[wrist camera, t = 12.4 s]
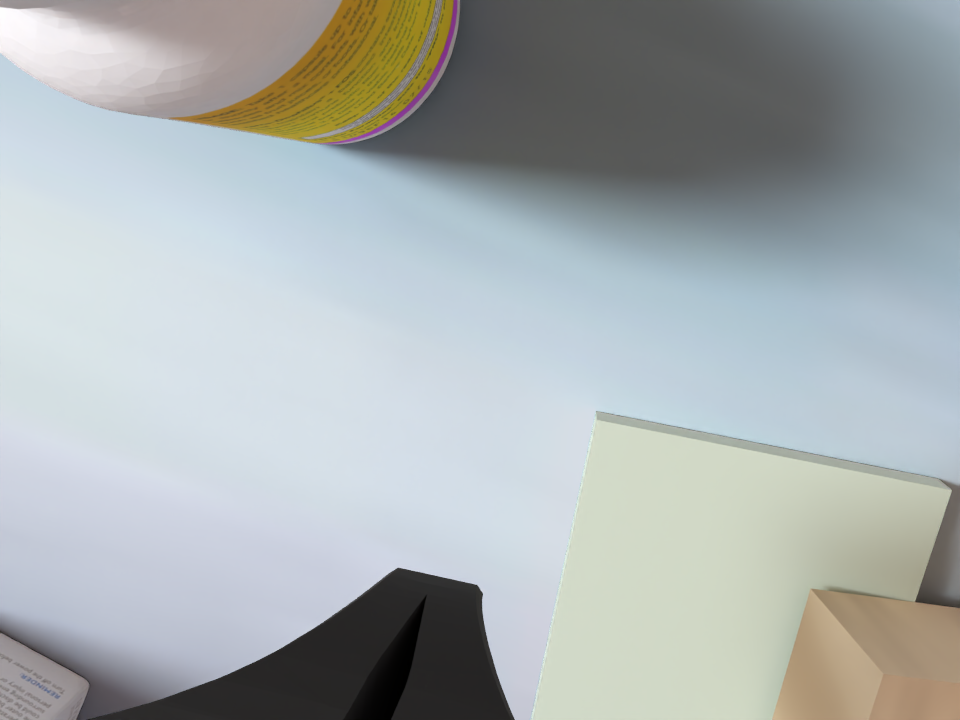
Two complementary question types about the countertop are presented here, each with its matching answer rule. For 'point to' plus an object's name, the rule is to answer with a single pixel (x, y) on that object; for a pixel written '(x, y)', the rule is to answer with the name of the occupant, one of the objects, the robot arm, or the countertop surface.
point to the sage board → (715, 568)
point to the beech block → (872, 661)
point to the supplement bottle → (240, 60)
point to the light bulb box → (37, 685)
